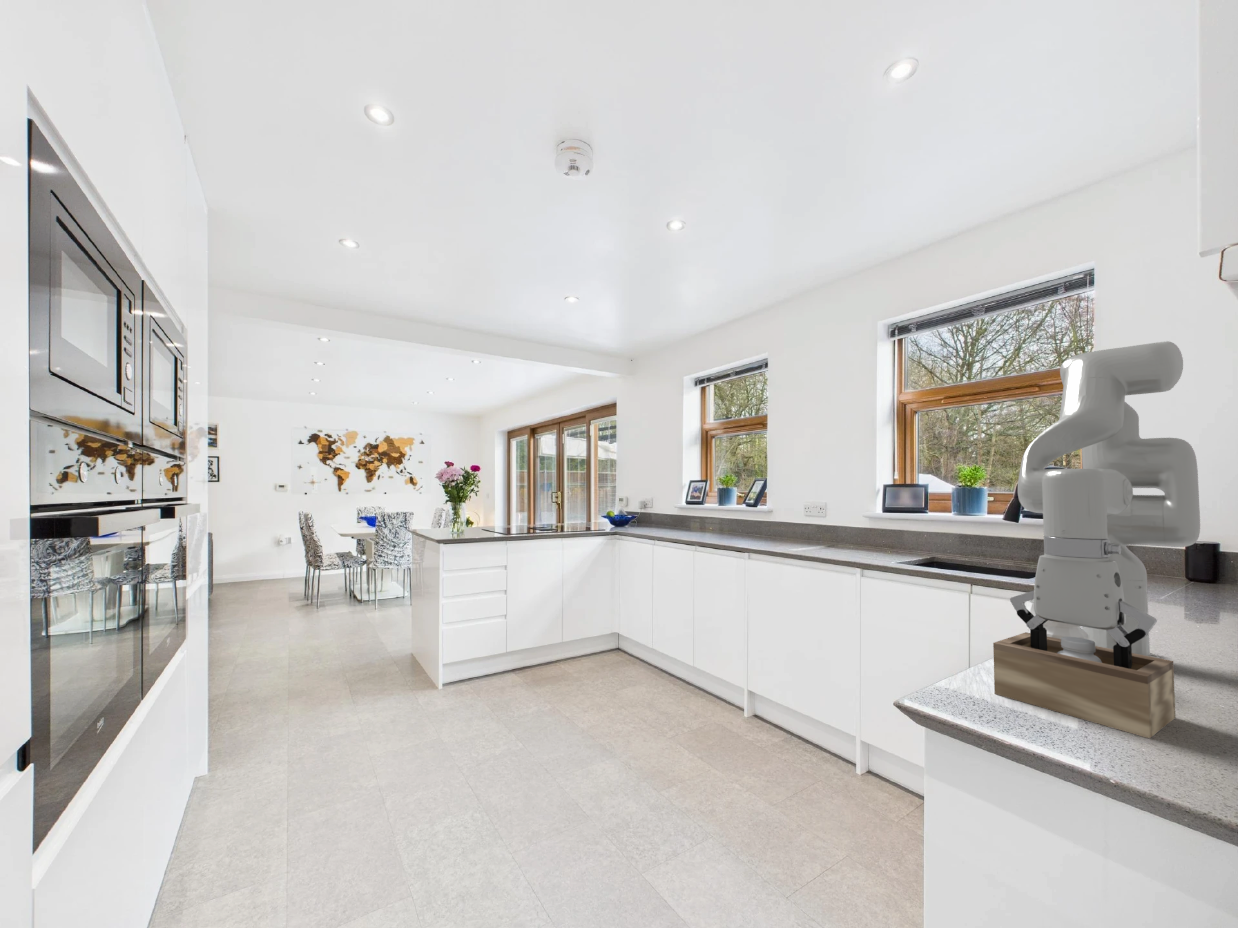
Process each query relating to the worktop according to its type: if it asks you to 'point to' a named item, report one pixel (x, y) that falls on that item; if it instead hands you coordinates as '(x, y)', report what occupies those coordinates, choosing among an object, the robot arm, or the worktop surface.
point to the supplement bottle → (1079, 648)
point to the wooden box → (1087, 684)
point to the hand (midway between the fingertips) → (1078, 662)
